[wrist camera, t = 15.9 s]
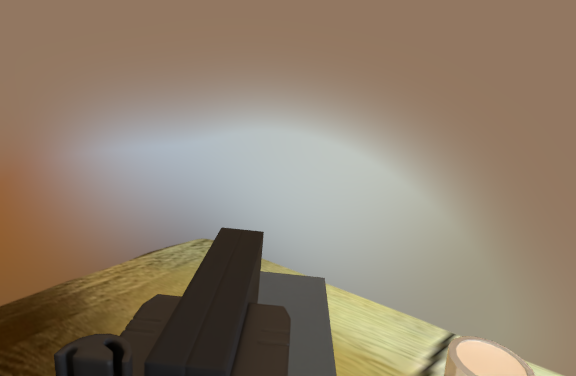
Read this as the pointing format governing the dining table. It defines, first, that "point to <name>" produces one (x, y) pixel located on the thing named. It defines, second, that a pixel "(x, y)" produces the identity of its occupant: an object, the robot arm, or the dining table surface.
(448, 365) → the cream tapered cup
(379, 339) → the dining table surface
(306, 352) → the lid
